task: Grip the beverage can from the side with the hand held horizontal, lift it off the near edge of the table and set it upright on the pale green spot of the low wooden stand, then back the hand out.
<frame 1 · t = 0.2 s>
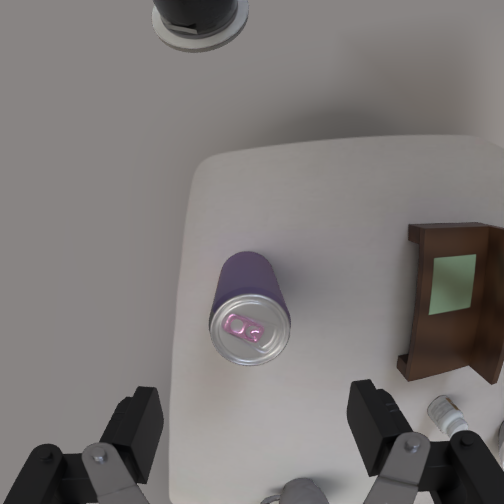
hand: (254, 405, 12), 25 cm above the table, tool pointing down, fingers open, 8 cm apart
mug: (290, 486, 44), on the table
beverage can: (247, 275, 37), on the table
wooden stand: (440, 296, 38), on the table
pill bottle: (437, 405, 42), on the table
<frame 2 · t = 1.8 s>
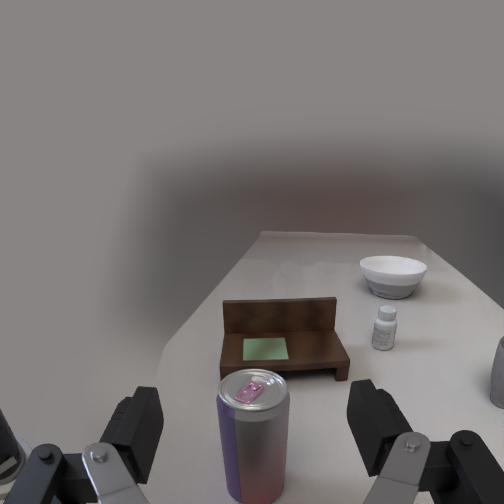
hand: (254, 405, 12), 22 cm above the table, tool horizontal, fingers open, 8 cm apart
bowl: (390, 293, 84), on the table
beverage can: (255, 489, 28), on the table
wooden stand: (282, 365, 53), on the table
pill bottle: (382, 346, 57), on the table
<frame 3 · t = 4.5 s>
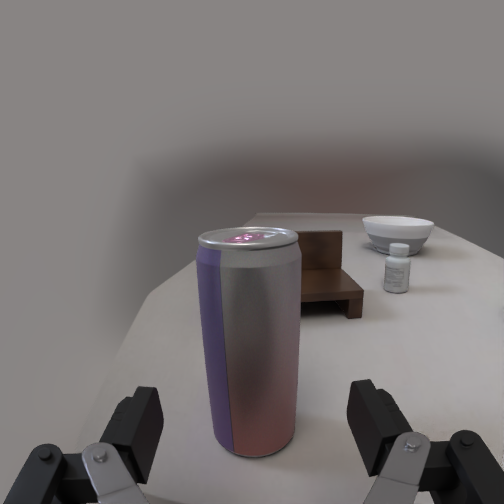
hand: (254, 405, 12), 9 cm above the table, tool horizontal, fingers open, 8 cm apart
bowl: (396, 252, 79), on the table
beverage can: (254, 435, 21), on the table
wooden stand: (283, 305, 47), on the table
pill bottle: (395, 290, 51), on the table
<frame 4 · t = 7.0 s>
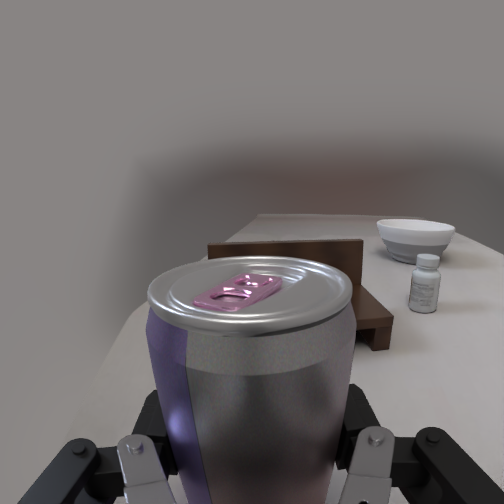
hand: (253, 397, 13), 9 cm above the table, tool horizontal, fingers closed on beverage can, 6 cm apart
bowl: (414, 259, 69), on the table
wooden stand: (292, 332, 38), on the table
pill bottle: (421, 309, 42), on the table
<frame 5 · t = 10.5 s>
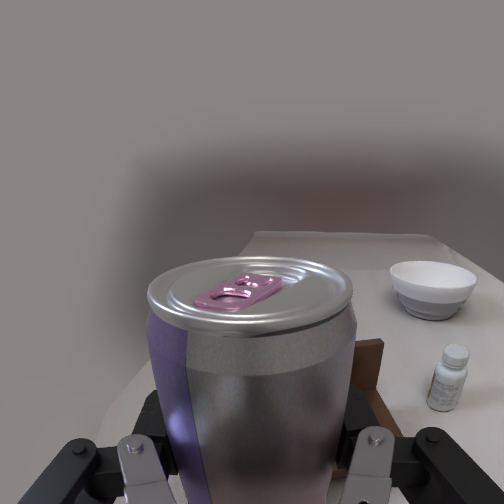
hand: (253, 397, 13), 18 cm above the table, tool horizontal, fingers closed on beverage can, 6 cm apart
bowl: (428, 311, 60), on the table
wooden stand: (292, 454, 28), on the table
pill bottle: (441, 403, 32), on the table
when the fingers open (13 cm above the table, at t = 13.9 s): beverage can stays where it is, resting on wooden stand.
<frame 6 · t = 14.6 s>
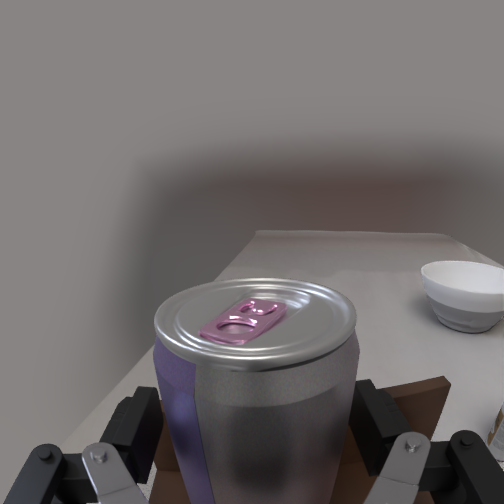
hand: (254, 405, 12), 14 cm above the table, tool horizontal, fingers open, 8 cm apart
bowl: (465, 321, 46), on the table
pill bottle: (501, 448, 18), on the table
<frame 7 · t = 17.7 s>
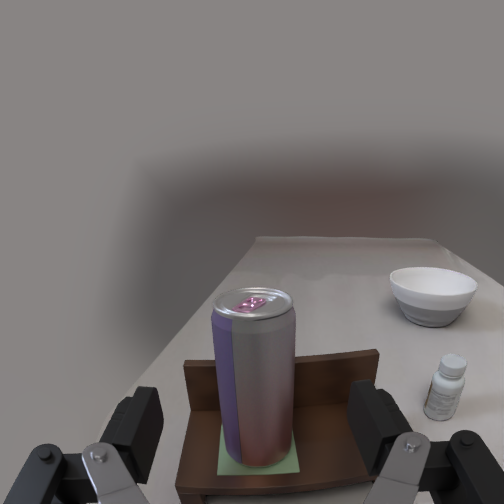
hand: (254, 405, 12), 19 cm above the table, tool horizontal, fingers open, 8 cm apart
bowl: (428, 317, 59), on the table
beverage can: (258, 449, 26), point 4 cm above the table, touching wooden stand
wooden stand: (287, 463, 28), on the table
pill bottle: (438, 412, 32), on the table
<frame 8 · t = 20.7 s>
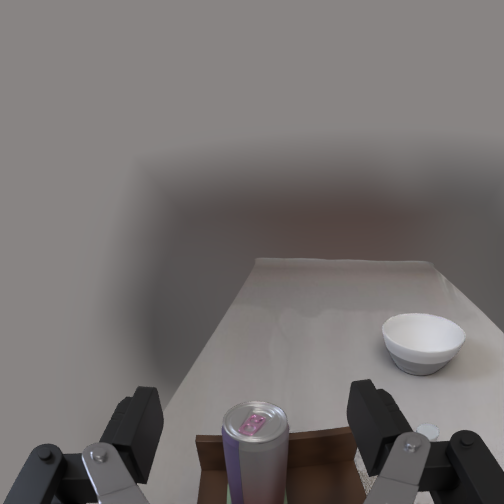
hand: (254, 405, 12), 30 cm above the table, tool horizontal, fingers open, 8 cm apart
bowl: (417, 363, 62), on the table
pill bottle: (412, 466, 35), on the table
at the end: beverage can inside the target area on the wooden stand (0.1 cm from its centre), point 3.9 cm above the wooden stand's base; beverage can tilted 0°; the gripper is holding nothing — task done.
